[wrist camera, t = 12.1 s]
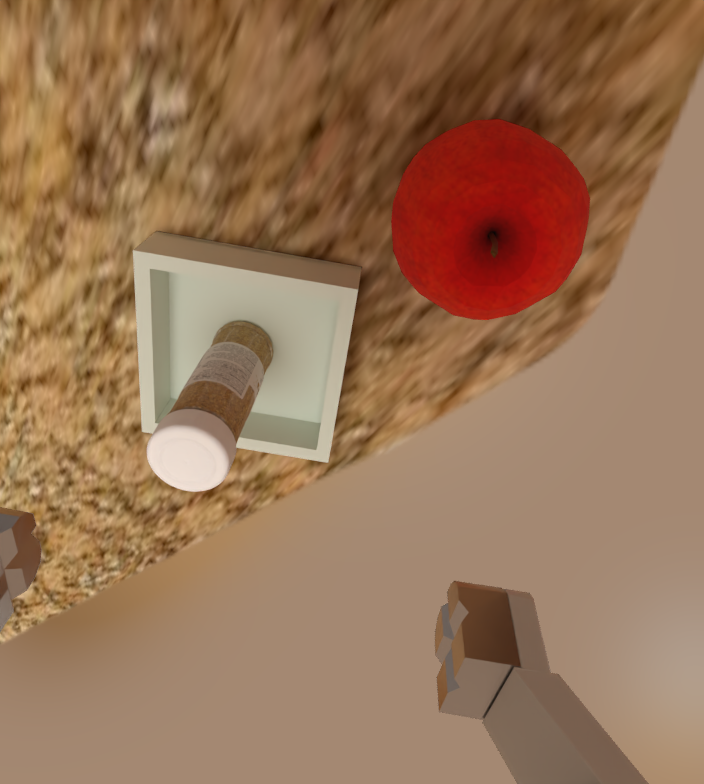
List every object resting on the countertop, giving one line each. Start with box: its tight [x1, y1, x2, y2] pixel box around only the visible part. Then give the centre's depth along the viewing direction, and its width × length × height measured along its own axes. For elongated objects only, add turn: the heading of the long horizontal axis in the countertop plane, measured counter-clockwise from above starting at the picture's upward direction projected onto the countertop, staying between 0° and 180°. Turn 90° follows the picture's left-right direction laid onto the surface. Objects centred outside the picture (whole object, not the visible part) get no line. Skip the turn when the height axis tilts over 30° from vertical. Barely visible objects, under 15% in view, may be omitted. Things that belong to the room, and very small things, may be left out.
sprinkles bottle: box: [147, 321, 273, 491], centre depth 36 cm, size 5×5×13 cm
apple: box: [391, 119, 590, 320], centre depth 31 cm, size 10×10×12 cm
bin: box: [133, 231, 362, 463], centre depth 41 cm, size 14×14×4 cm
